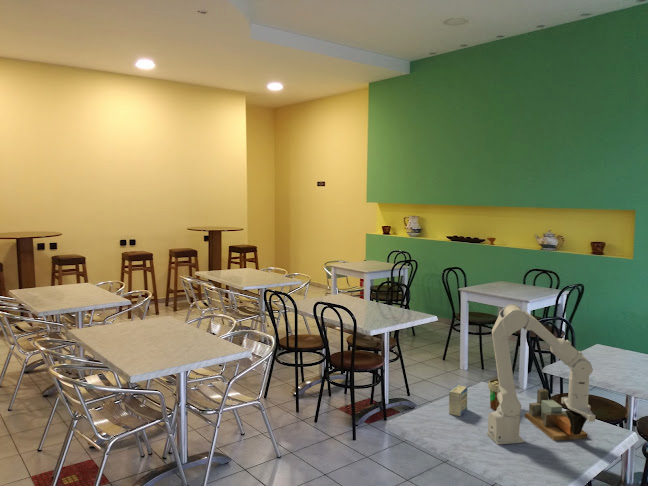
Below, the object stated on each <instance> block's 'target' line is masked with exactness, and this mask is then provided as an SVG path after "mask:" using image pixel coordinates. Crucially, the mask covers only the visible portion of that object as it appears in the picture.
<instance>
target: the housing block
mask: <svg viewBox="0 0 648 486" xmlns="http://www.w3.org/2000/svg"><path fill="white" fill-rule="evenodd" d="M556 402H557V401H555V400H554V399H548V400H542V401H541V417H542V418H543V413H545V412H559V411H563V406H562V405H561V404H560V403H558V402H557V403H556Z"/></svg>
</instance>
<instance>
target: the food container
mask: <svg viewBox="0 0 648 486" xmlns="http://www.w3.org/2000/svg"><path fill="white" fill-rule="evenodd" d="M498 384H499V381H498V377H492V378H491V379H489V381H488V383H487V388H488V389H489V401H490V402H489V403H490V406H489V407H490V409H491V410H492V411H493V412H495V411H496V410H497V408H498V406H499V405H500V403H499V401H498V399H497V393H498V390H499V387H498Z"/></svg>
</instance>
